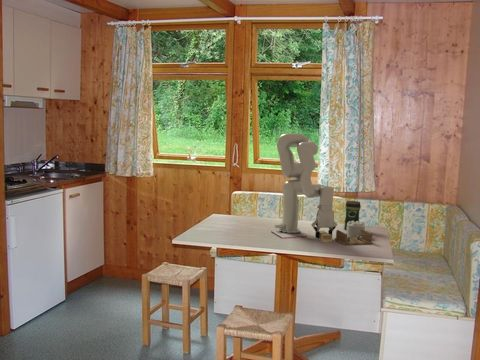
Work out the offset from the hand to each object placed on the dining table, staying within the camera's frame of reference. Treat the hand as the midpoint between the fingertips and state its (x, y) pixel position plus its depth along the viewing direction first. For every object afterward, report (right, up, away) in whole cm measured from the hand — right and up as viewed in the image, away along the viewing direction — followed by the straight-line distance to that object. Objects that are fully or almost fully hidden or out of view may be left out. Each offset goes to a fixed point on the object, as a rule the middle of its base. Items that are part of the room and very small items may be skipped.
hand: (323, 237), depth 288 cm
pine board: (0, -1, 0) cm, 1 cm away
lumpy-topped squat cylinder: (+21, -1, +14) cm, 26 cm away
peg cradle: (+17, -2, -3) cm, 17 cm away
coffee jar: (+23, +1, +30) cm, 38 cm away
